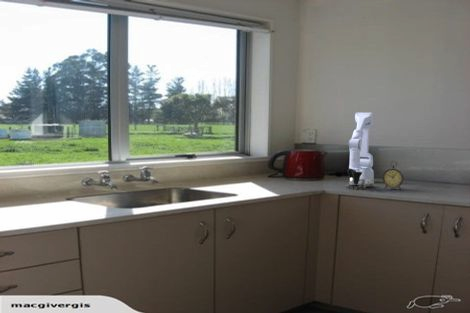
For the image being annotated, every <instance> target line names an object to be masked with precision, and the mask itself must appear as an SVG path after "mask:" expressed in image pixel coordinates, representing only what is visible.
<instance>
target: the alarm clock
mask: <svg viewBox="0 0 470 313" xmlns="http://www.w3.org/2000/svg"><path fill="white" fill-rule="evenodd" d="M393 162H395V165H392V163H393ZM397 164H398V163H397V161H396V160H391V162H390V166H391V168H388V169H386V170H385V171H384V172H383V174H382V182H383V184H384V185H385V187H384V190H385V189H386V188H391V189H395V188H396V189H397V188H398V189H399V190H400V191H402V188H401V185H402V184H403V182H404V173H403V172H402V171H401V170H400V169H398V168H396V166H397Z"/></svg>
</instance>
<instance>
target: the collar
mask: <svg viewBox="0 0 470 313" xmlns="http://www.w3.org/2000/svg"><path fill="white" fill-rule="evenodd" d="M349 186H357V184H354V181H353V177H350V179H349Z"/></svg>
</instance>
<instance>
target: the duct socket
mask: <svg viewBox="0 0 470 313" xmlns="http://www.w3.org/2000/svg"><path fill="white" fill-rule="evenodd" d="M374 184H375V180H373V179H372V178H365V179H361V178H360V179H359V182H358V184H357V186H349V184H345V189H348V190H362V189H365V188H370V187H371V188H372V187H374Z"/></svg>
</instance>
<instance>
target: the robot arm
mask: <svg viewBox="0 0 470 313" xmlns="http://www.w3.org/2000/svg"><path fill="white" fill-rule="evenodd" d="M354 120H355V123H356V129H354V130H353V132H352V135H351V138H350V139H349V141H348V148H349V149H348V151H349V165H348V169H346V172H347V175H348V177H349V180H350V177H353V181H354V184H358V182H359V179H360V178H361V179H365V178H372V179H373V181H375V180H374V176H375V173H374V172H375V171H374V170H373V168H372V167H373V166H374V158H373V154H371V153H369V145H370V144H369V143H370V140H369V139H370V127H371V126H374V114H373V112H372V111H371V112H355V114H354Z"/></svg>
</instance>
